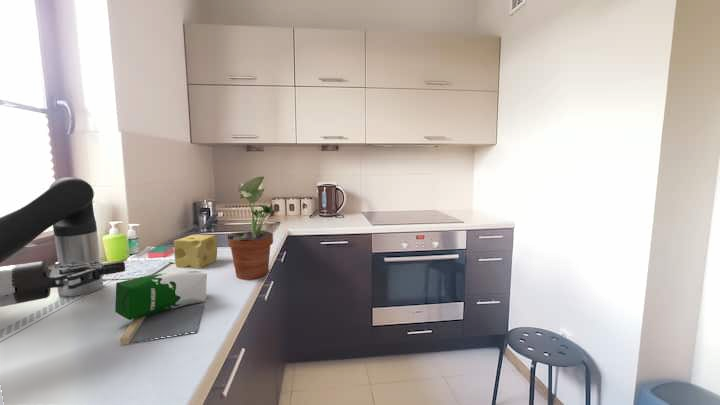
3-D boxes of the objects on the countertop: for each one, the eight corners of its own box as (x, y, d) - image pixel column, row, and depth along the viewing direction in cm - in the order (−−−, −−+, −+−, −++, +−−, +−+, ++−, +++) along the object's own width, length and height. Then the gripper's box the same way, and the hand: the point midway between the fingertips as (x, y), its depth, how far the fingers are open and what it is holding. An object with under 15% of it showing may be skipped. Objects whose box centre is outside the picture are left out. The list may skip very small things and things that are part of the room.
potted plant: (286, 271, 109) (282, 168, 105) (249, 285, 97) (243, 169, 92) (256, 263, 118) (251, 168, 113) (219, 275, 105) (211, 169, 101)
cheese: (199, 269, 112) (197, 241, 111) (173, 267, 114) (171, 240, 113) (218, 260, 122) (216, 234, 121) (194, 258, 124) (192, 233, 123)
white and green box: (112, 315, 75) (195, 294, 92) (130, 325, 70) (214, 302, 87) (114, 277, 74) (197, 264, 91) (132, 285, 70) (216, 270, 86)
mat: (120, 345, 65) (119, 338, 65) (141, 314, 78) (141, 309, 78) (196, 332, 70) (195, 326, 70) (204, 306, 83) (203, 300, 83)
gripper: (22, 292, 67) (124, 273, 78) (9, 315, 57) (128, 290, 68) (17, 257, 66) (121, 244, 77) (3, 275, 56) (125, 256, 67)
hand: (124, 265), depth 73 cm, fingers closed
